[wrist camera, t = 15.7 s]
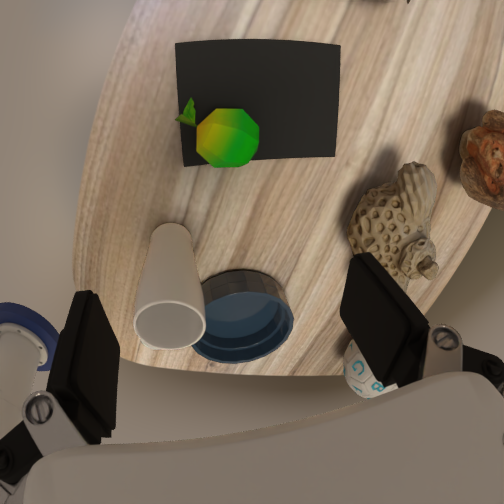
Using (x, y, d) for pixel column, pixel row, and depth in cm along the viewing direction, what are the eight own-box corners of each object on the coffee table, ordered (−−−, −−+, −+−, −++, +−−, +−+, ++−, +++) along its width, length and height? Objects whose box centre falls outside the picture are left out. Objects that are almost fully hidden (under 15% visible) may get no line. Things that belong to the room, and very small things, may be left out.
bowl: (194, 345, 50) (196, 369, 46) (179, 276, 42) (179, 300, 38) (281, 332, 53) (289, 354, 49) (286, 262, 44) (297, 284, 40)
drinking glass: (160, 206, 36) (150, 288, 23) (207, 230, 39) (221, 317, 27) (136, 247, 38) (121, 336, 26) (181, 268, 41) (184, 358, 29)
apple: (269, 161, 27) (174, 126, 23) (240, 189, 32) (158, 162, 29) (276, 107, 29) (194, 73, 26) (248, 138, 35) (176, 111, 31)
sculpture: (454, 81, 32) (535, 107, 20) (501, 124, 37) (564, 157, 25) (421, 168, 39) (492, 217, 27) (472, 196, 44) (529, 240, 32)
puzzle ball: (368, 359, 65) (394, 410, 53) (318, 356, 60) (344, 418, 47) (408, 312, 59) (445, 365, 46) (361, 303, 53) (400, 367, 41)
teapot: (354, 137, 35) (432, 184, 23) (419, 152, 38) (494, 198, 26) (317, 275, 47) (359, 350, 35) (378, 272, 49) (424, 336, 37)
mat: (184, 165, 33) (183, 167, 33) (175, 43, 26) (175, 43, 25) (333, 155, 36) (335, 157, 36) (338, 45, 28) (340, 45, 28)
